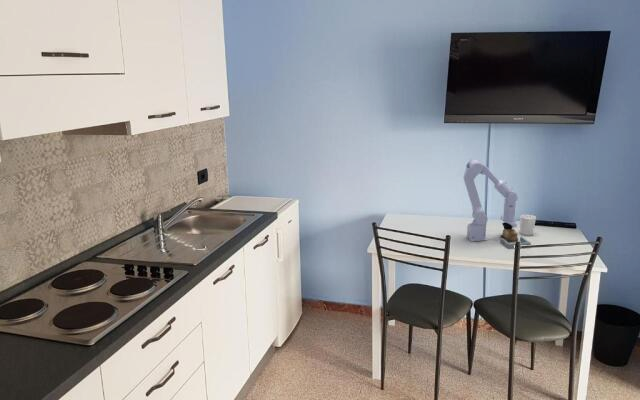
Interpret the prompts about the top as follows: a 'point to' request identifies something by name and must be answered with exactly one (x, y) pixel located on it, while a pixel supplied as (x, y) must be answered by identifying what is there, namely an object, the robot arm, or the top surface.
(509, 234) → the tan rounded lump
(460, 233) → the top surface
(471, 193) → the robot arm
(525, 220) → the white cup
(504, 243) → the bay
